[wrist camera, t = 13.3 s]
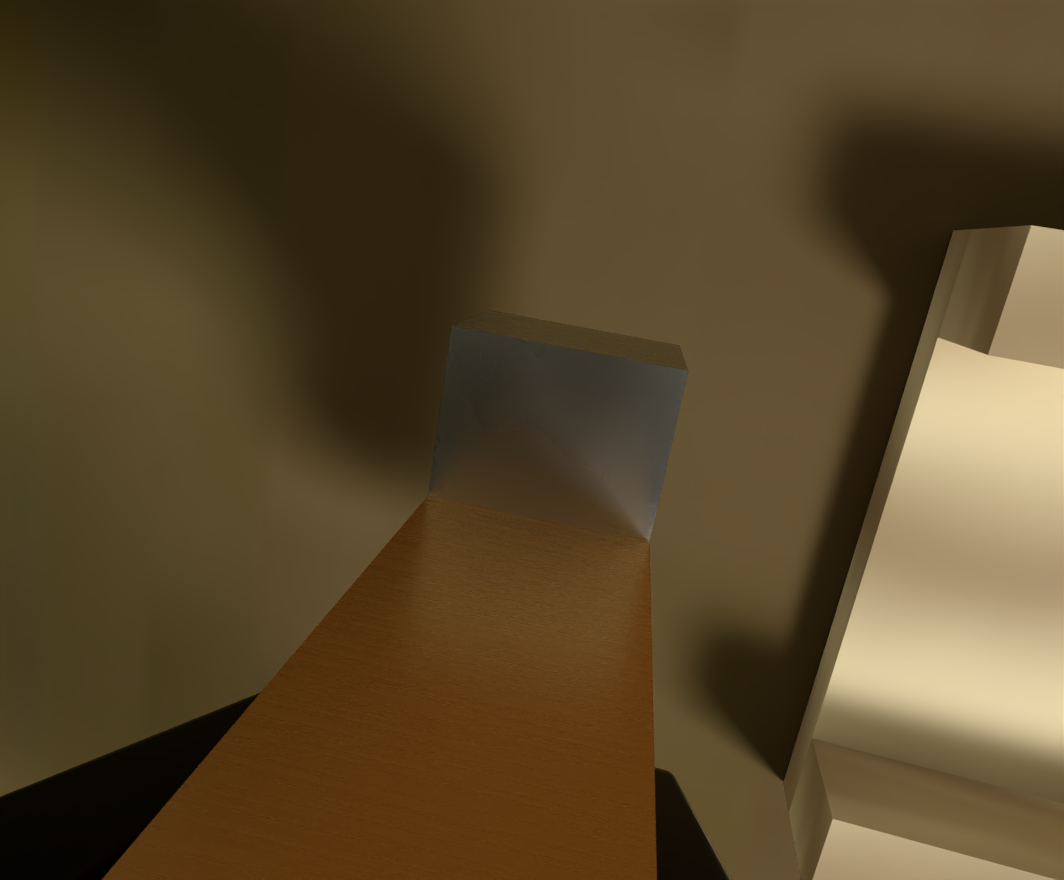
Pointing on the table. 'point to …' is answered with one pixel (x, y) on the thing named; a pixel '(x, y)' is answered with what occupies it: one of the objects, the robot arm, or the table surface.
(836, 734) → the slotted block
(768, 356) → the table surface
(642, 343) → the grey-ended wooden block
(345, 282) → the table surface
